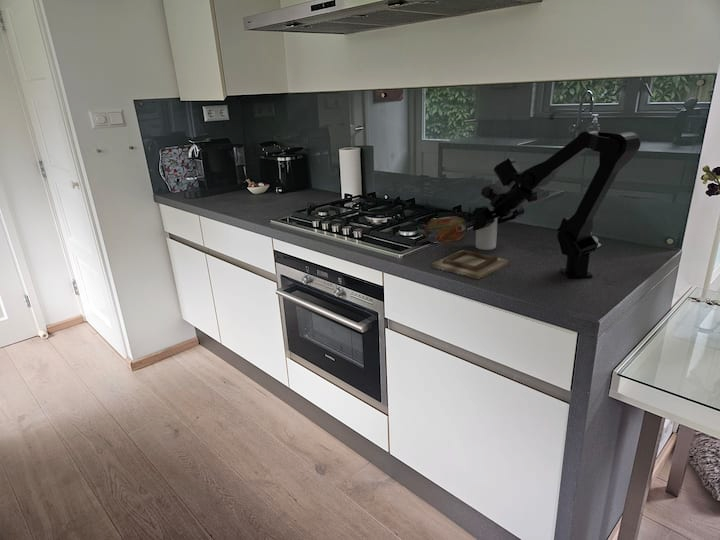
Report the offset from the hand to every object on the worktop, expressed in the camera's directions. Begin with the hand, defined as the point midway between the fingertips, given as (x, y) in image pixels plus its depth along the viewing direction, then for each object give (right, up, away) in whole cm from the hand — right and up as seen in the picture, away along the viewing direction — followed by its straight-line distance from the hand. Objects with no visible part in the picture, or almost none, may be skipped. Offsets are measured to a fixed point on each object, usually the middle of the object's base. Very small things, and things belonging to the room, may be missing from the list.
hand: (483, 226), depth 158 cm
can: (+1, -7, +1) cm, 7 cm away
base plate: (-7, -13, -14) cm, 20 cm away
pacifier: (+34, -7, -1) cm, 34 cm away
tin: (-11, -4, +10) cm, 15 cm away
